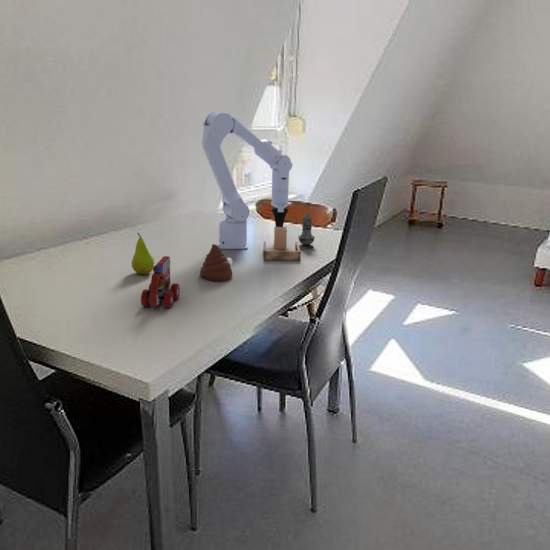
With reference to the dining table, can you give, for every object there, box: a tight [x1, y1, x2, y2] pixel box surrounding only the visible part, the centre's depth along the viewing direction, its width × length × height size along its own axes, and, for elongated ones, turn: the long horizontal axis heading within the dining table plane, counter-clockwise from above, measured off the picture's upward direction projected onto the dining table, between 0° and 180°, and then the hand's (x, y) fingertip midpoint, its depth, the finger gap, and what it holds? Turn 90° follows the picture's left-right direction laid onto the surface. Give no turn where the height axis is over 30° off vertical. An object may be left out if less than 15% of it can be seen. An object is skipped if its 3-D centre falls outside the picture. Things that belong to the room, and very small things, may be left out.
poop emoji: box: [199, 243, 234, 283], centre depth 136 cm, size 10×8×9 cm
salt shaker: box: [297, 212, 316, 250], centre depth 167 cm, size 6×6×12 cm
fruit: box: [131, 232, 155, 275], centre depth 136 cm, size 6×6×12 cm
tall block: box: [273, 226, 288, 249], centre depth 165 cm, size 4×4×7 cm
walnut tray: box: [263, 240, 302, 262], centre depth 158 cm, size 11×12×3 cm
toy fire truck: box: [140, 255, 181, 309], centre depth 116 cm, size 7×12×10 cm, turn 175°
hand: (279, 228), depth 173 cm, fingers closed
